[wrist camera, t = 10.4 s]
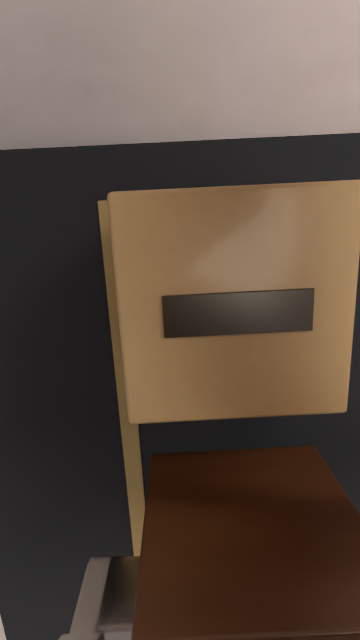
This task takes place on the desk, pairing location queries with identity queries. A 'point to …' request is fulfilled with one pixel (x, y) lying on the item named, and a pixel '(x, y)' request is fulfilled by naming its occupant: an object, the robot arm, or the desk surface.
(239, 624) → the dark brown wooden block
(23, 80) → the desk surface
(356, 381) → the dark grey square board
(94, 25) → the desk surface
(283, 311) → the slotted cardboard carton
